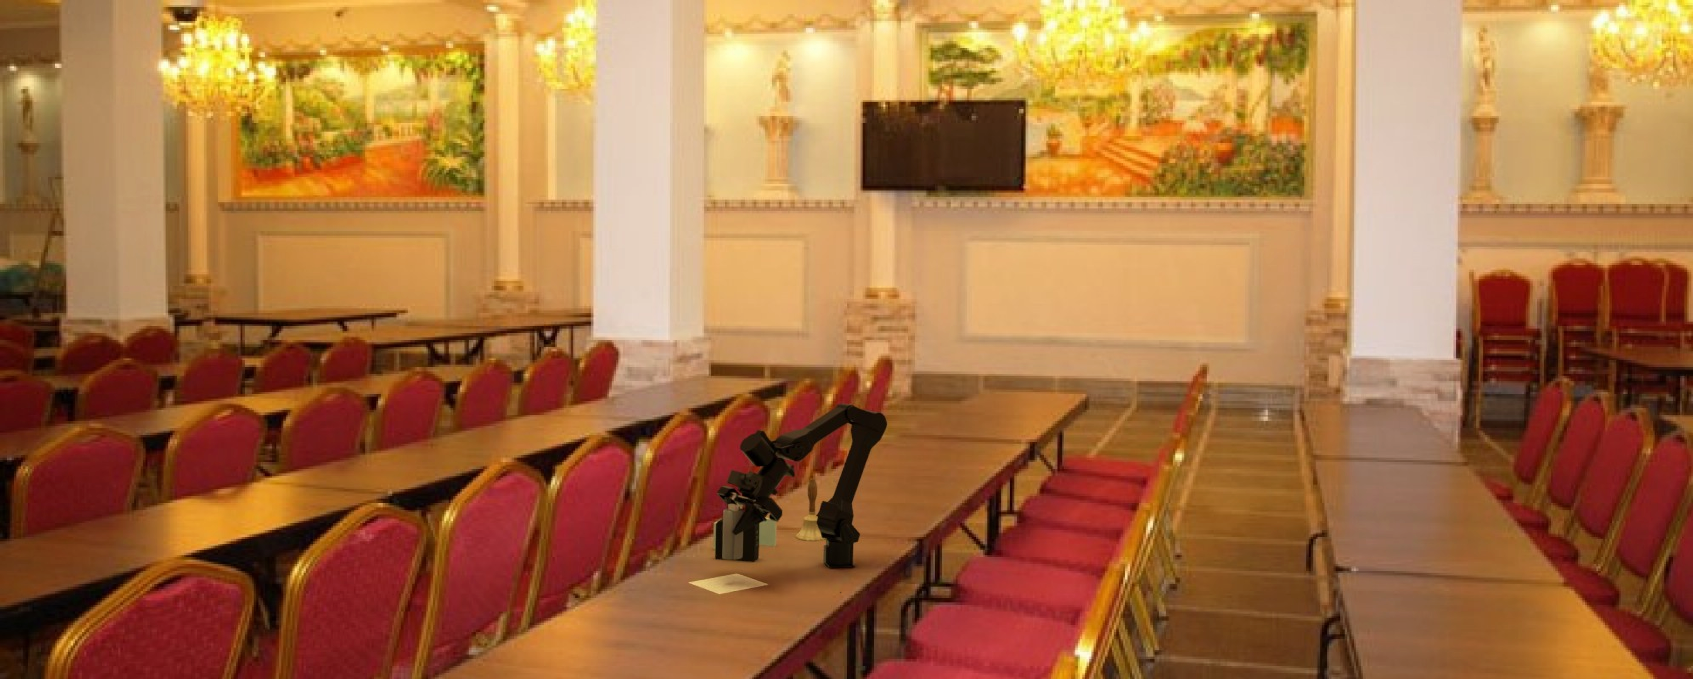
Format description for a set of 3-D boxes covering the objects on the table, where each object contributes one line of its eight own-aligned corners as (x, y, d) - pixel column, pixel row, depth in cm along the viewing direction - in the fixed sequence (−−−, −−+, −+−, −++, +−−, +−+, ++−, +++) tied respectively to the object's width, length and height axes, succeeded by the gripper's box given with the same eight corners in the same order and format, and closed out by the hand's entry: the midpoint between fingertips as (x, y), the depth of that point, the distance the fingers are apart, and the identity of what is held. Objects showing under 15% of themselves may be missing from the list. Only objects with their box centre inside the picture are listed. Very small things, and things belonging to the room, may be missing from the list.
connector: (735, 554, 312) (737, 502, 311) (746, 557, 309) (747, 505, 308) (718, 557, 308) (719, 504, 307) (728, 560, 305) (729, 507, 304)
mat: (737, 575, 318) (737, 573, 317) (768, 586, 309) (768, 584, 309) (688, 584, 308) (688, 582, 308) (719, 596, 299) (719, 593, 299)
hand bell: (826, 541, 355) (828, 481, 354) (795, 540, 355) (796, 480, 354) (827, 534, 363) (829, 476, 362) (796, 533, 364) (798, 475, 362)
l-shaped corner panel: (713, 551, 342) (713, 522, 342) (734, 542, 353) (735, 514, 353) (755, 557, 338) (756, 527, 337) (775, 547, 349) (776, 518, 348)
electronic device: (754, 564, 329) (755, 523, 328) (714, 560, 331) (715, 520, 330) (758, 560, 333) (759, 520, 332) (719, 556, 335) (720, 517, 334)
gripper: (724, 451, 316) (684, 503, 310) (773, 463, 302) (733, 517, 296) (750, 481, 322) (711, 532, 316) (799, 494, 308) (760, 548, 302)
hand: (728, 532), depth 307 cm, fingers closed on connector, 4 cm apart
